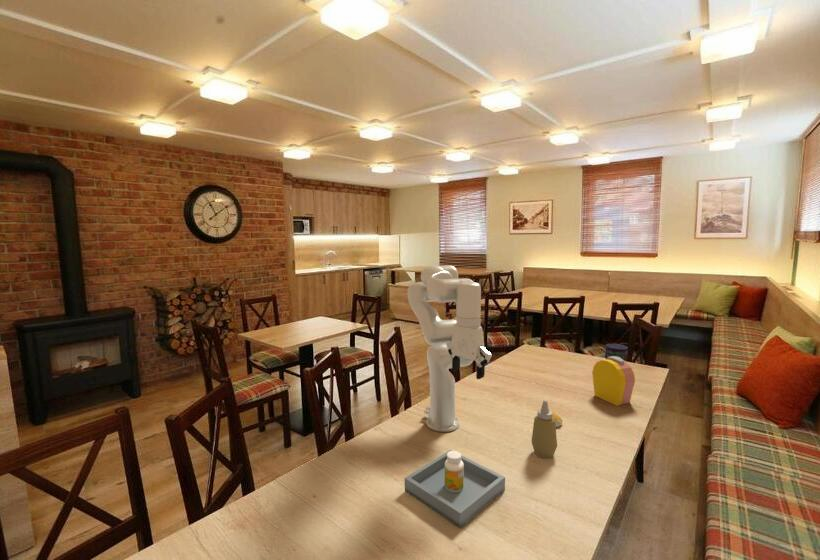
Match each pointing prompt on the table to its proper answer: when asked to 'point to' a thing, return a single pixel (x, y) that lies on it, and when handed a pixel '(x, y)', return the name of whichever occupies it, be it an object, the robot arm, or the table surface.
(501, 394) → the table surface
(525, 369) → the table surface
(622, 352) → the storage jar
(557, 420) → the bread roll
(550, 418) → the squeeze bottle
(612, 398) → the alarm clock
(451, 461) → the supplement bottle
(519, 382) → the table surface
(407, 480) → the box
